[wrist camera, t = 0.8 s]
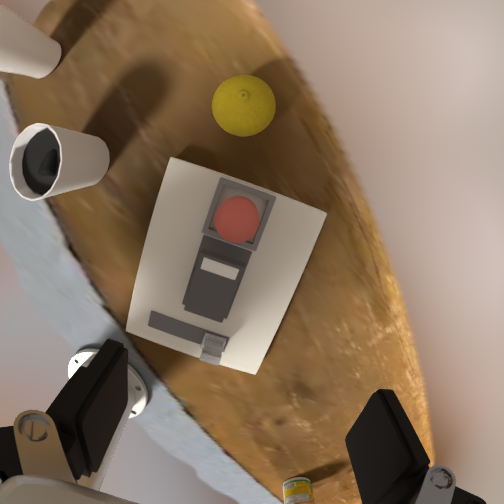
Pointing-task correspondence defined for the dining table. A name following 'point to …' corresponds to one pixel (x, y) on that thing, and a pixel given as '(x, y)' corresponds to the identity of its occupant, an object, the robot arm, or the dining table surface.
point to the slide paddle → (212, 348)
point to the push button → (237, 219)
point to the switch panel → (206, 236)
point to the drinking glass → (25, 47)
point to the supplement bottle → (298, 491)
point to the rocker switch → (213, 285)
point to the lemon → (243, 105)
